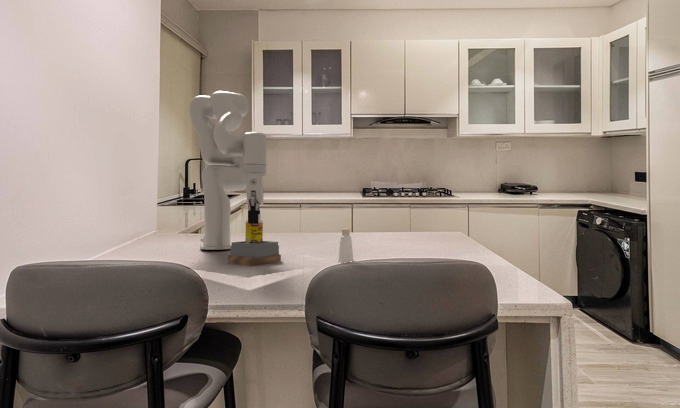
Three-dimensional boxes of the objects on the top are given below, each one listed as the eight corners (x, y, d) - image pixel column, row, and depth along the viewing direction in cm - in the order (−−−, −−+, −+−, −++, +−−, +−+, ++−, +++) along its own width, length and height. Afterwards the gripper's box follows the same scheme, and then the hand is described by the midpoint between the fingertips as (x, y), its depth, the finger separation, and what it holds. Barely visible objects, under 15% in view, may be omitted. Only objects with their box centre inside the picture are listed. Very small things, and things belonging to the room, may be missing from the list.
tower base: (228, 264, 150) (228, 255, 150) (256, 260, 159) (256, 252, 159) (253, 267, 142) (253, 258, 142) (280, 263, 152) (280, 254, 152)
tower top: (230, 255, 149) (230, 242, 149) (254, 252, 158) (254, 240, 158) (255, 257, 143) (255, 244, 143) (278, 254, 152) (278, 241, 152)
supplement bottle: (249, 246, 147) (249, 214, 147) (242, 245, 152) (243, 214, 152) (265, 245, 150) (265, 214, 151) (258, 244, 155) (258, 214, 155)
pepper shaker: (356, 261, 153) (356, 228, 153) (351, 263, 148) (351, 229, 148) (340, 260, 155) (340, 228, 155) (335, 262, 150) (335, 229, 150)
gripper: (264, 169, 143) (264, 224, 143) (267, 172, 160) (266, 221, 160) (240, 168, 142) (239, 224, 142) (245, 171, 159) (244, 221, 159)
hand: (254, 222), depth 151 cm, fingers open, 9 cm apart
